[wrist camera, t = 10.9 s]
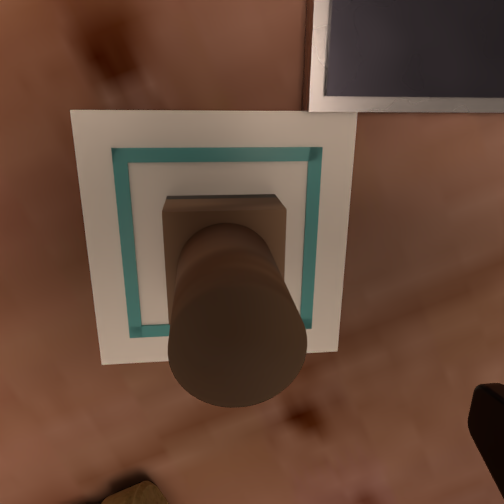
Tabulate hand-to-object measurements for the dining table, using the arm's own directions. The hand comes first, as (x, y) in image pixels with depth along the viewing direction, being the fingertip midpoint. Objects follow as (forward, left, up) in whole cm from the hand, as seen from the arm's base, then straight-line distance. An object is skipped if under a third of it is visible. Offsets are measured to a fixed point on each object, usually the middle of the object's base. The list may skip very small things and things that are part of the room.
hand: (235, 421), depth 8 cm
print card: (0, 0, -10) cm, 10 cm away
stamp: (0, 0, -10) cm, 10 cm away
